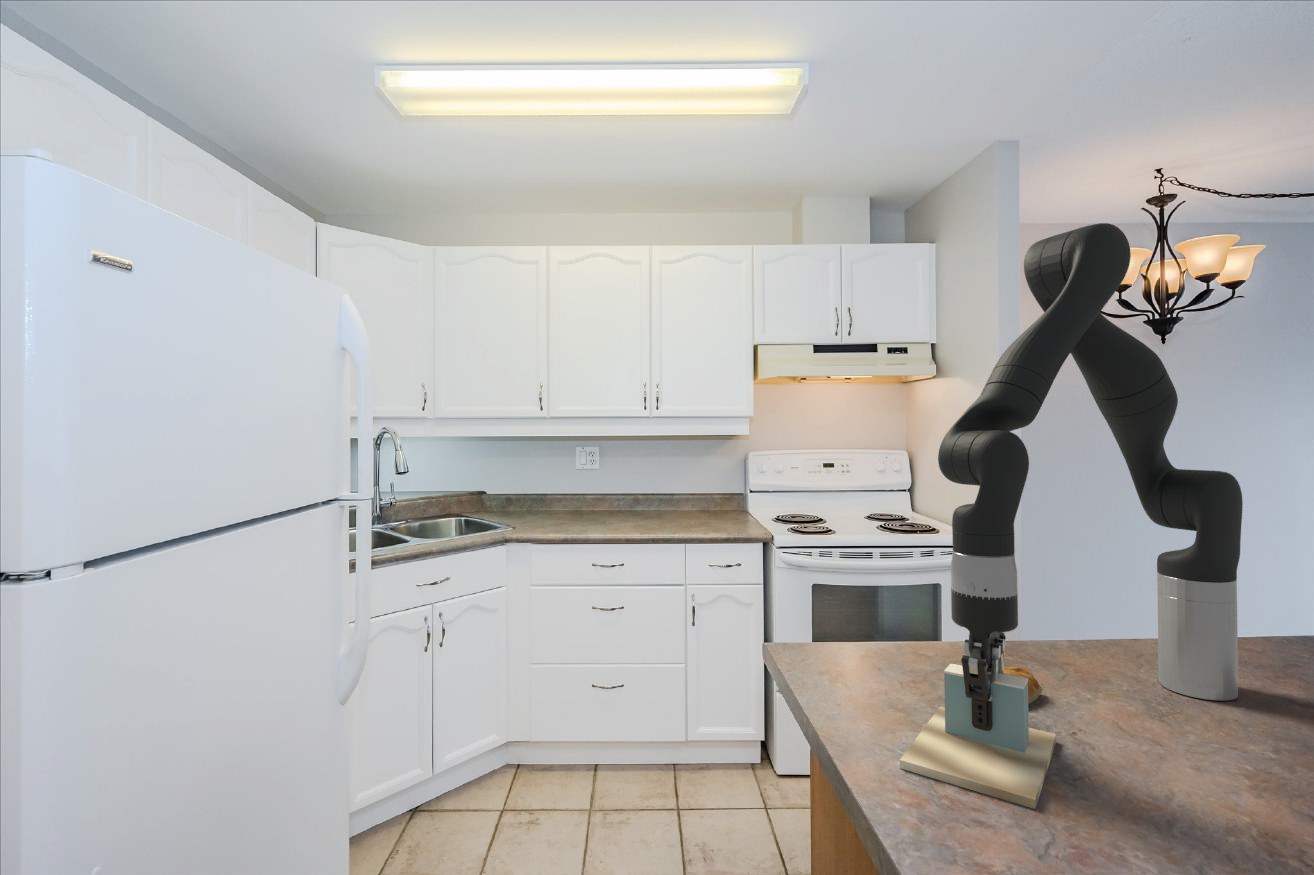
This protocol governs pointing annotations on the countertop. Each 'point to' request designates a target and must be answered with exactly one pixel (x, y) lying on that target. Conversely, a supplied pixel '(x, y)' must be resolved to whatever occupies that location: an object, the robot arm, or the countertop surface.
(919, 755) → the board
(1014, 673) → the pastry
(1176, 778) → the countertop surface
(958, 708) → the slab
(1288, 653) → the countertop surface
